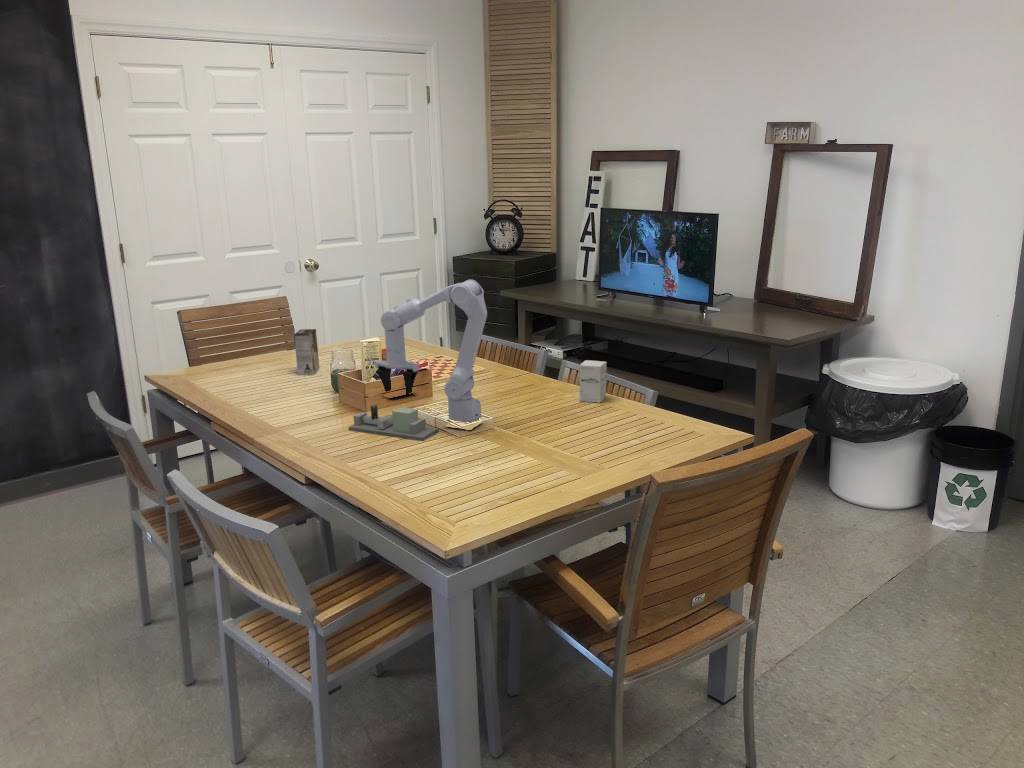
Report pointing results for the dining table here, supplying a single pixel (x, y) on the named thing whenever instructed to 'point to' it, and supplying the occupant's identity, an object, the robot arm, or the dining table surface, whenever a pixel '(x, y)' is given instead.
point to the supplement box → (592, 381)
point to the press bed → (415, 431)
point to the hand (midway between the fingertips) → (398, 391)
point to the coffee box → (306, 351)
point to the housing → (403, 418)
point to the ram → (377, 418)
